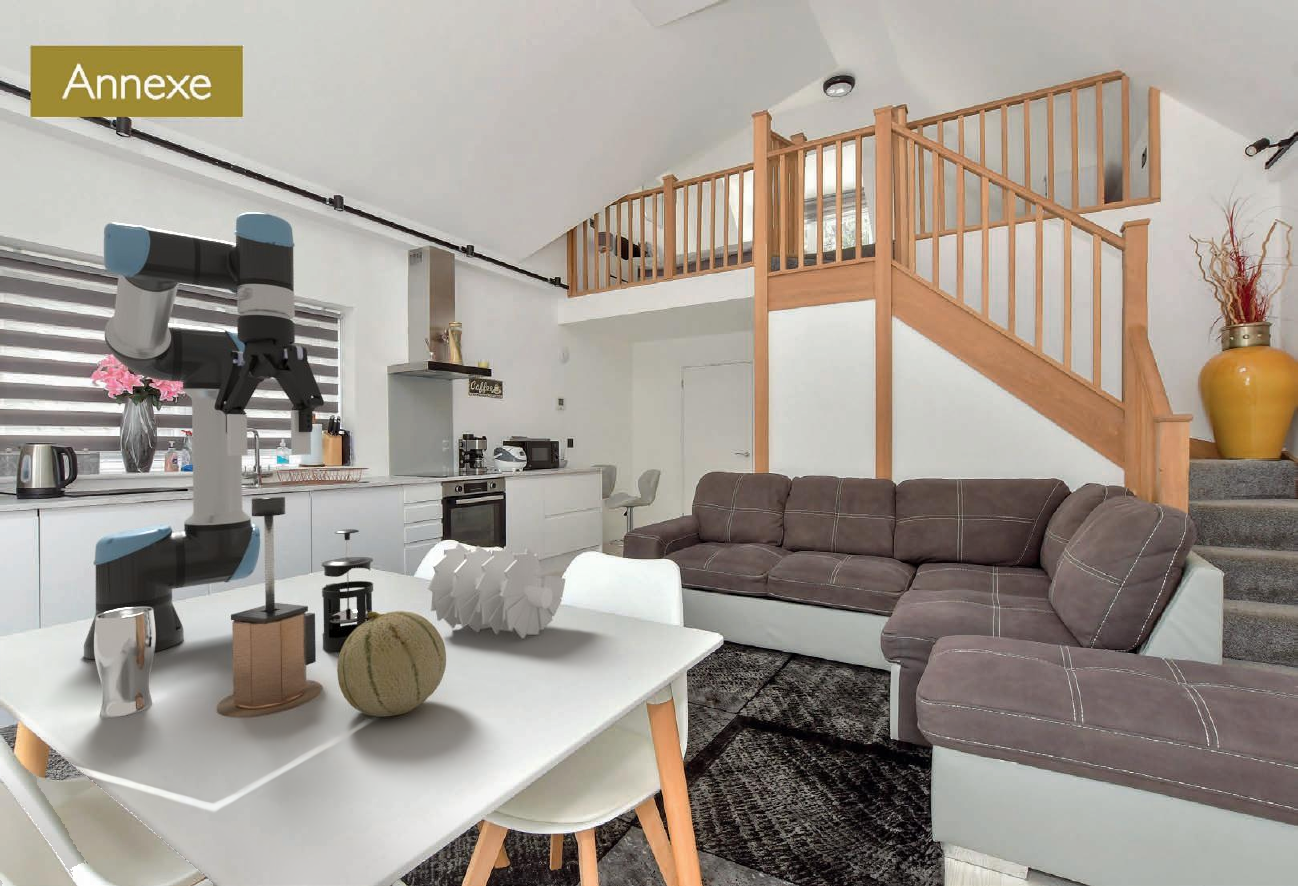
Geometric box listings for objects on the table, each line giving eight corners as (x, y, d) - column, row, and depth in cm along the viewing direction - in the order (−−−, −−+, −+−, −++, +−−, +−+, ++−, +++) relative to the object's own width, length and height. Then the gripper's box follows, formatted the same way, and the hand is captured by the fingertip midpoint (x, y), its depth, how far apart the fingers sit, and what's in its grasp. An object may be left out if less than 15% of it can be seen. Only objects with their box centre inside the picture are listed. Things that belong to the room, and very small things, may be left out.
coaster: (193, 713, 90) (193, 709, 90) (279, 678, 103) (279, 675, 103) (261, 727, 85) (261, 723, 85) (343, 689, 98) (343, 685, 98)
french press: (387, 645, 120) (385, 528, 120) (341, 660, 112) (339, 534, 112) (352, 635, 126) (351, 524, 126) (306, 649, 118) (305, 530, 118)
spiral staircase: (532, 664, 120) (434, 642, 129) (575, 605, 134) (483, 589, 144) (510, 589, 112) (407, 573, 122) (558, 535, 126) (462, 524, 136)
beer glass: (105, 728, 86) (103, 621, 86) (87, 716, 89) (86, 614, 89) (164, 709, 92) (163, 609, 92) (145, 699, 95) (144, 603, 95)
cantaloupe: (457, 718, 87) (455, 613, 87) (343, 746, 79) (341, 631, 79) (433, 684, 100) (432, 592, 100) (333, 705, 92) (331, 606, 92)
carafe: (220, 705, 91) (219, 616, 91) (292, 676, 103) (291, 596, 103) (265, 713, 88) (263, 621, 88) (333, 682, 99) (332, 600, 99)
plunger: (237, 636, 92) (235, 499, 92) (274, 625, 98) (272, 495, 98) (266, 640, 90) (264, 500, 90) (302, 628, 96) (300, 496, 96)
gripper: (186, 320, 95) (188, 456, 95) (305, 305, 86) (307, 454, 86) (233, 328, 102) (235, 455, 102) (348, 315, 93) (350, 453, 93)
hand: (268, 455), depth 94 cm, fingers open, 13 cm apart
